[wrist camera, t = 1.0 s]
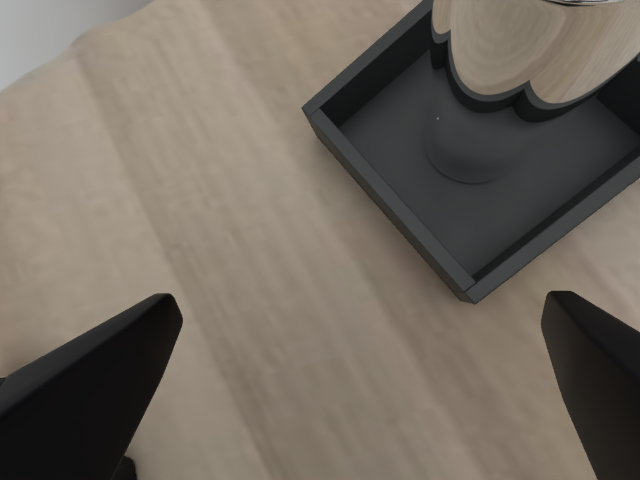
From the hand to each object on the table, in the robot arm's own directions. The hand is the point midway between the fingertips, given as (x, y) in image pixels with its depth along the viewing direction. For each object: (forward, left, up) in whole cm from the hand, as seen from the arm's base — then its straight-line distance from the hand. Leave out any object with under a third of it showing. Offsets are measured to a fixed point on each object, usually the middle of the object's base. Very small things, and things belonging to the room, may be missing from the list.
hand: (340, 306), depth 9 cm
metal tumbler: (+4, -11, -15) cm, 19 cm away
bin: (+4, -11, -15) cm, 19 cm away
